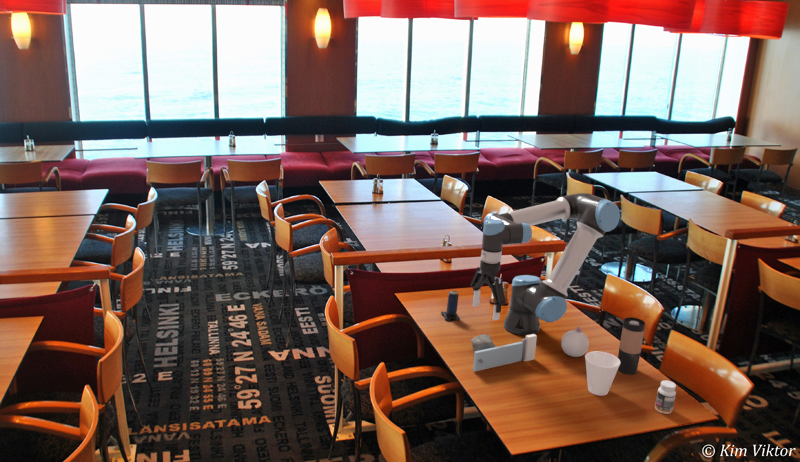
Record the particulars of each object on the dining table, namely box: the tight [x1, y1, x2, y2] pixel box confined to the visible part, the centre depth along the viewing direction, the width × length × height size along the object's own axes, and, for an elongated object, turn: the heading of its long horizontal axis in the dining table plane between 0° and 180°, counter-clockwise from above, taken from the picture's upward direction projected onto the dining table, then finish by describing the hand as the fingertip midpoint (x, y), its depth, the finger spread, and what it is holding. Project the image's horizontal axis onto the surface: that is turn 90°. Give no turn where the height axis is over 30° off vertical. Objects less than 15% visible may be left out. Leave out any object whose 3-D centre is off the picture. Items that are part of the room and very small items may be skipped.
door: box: [472, 338, 526, 372], centre depth 234 cm, size 23×3×8 cm, turn 117°
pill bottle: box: [654, 379, 677, 415], centre depth 210 cm, size 6×6×10 cm
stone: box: [470, 333, 497, 352], centre depth 245 cm, size 9×9×10 cm
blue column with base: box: [440, 290, 461, 322], centre depth 274 cm, size 9×8×12 cm
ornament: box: [560, 326, 590, 358], centre depth 245 cm, size 10×10×12 cm
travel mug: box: [617, 316, 646, 375], centre depth 234 cm, size 8×8×20 cm
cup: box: [584, 350, 621, 397], centre depth 220 cm, size 12×12×12 cm
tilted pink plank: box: [524, 334, 538, 362], centre depth 240 cm, size 4×2×10 cm, turn 117°
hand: (485, 312), depth 241 cm, fingers open, 13 cm apart
